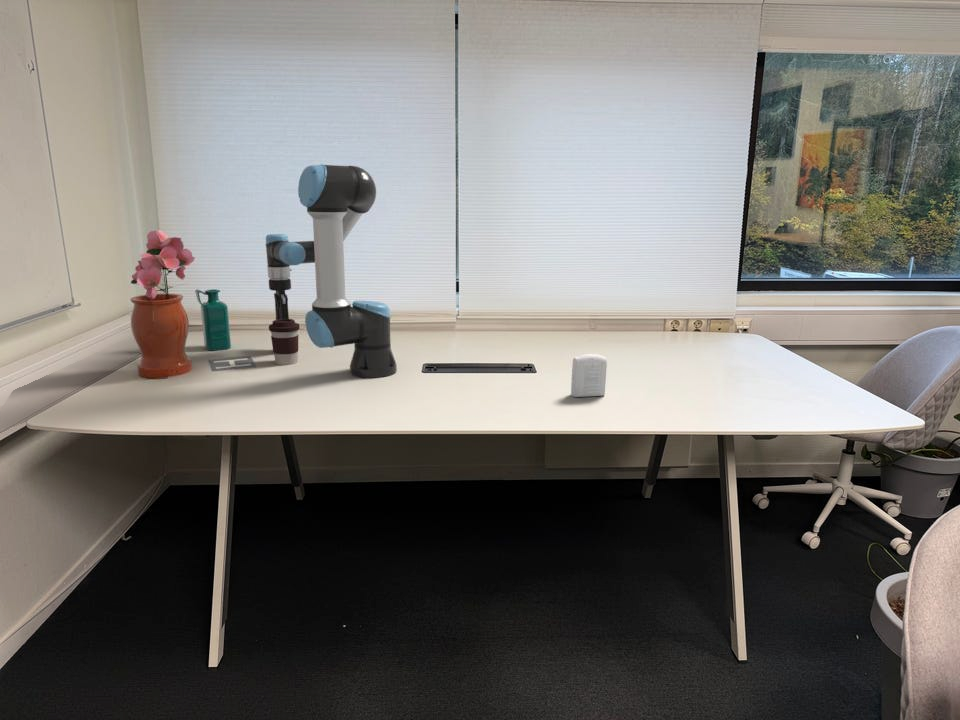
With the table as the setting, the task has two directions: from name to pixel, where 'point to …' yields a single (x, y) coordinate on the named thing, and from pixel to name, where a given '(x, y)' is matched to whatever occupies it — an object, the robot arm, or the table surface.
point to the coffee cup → (285, 341)
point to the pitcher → (214, 321)
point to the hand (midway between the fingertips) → (283, 342)
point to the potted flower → (161, 309)
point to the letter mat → (231, 363)
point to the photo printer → (588, 375)
